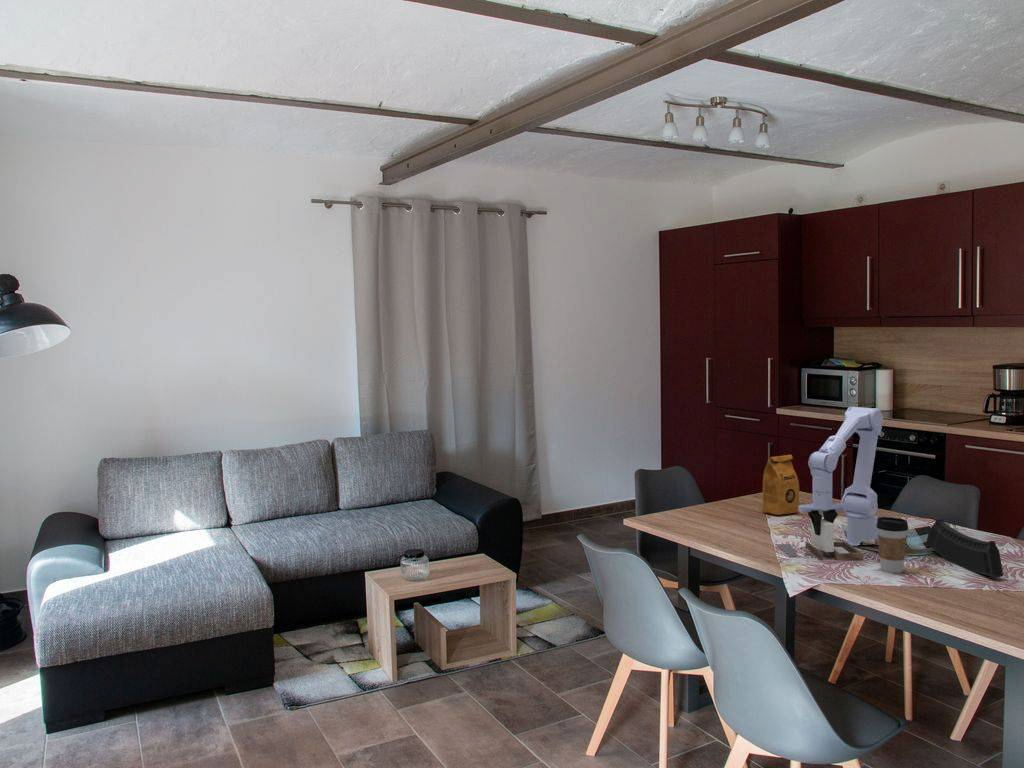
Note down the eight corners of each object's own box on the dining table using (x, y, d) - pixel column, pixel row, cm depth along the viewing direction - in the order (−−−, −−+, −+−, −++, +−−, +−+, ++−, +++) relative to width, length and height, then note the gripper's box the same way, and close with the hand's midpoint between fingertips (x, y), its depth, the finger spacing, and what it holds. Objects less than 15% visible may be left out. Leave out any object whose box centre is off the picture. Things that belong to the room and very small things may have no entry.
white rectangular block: (818, 543, 259) (818, 516, 258) (833, 551, 249) (833, 524, 248) (811, 543, 259) (811, 517, 258) (826, 552, 249) (826, 524, 248)
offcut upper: (841, 550, 258) (841, 546, 258) (849, 556, 251) (849, 553, 251) (831, 550, 258) (831, 546, 258) (839, 556, 251) (839, 553, 251)
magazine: (1010, 551, 222) (945, 497, 250) (999, 551, 222) (934, 498, 249) (996, 604, 228) (934, 546, 256) (985, 604, 228) (924, 546, 256)
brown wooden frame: (845, 547, 261) (845, 541, 261) (863, 560, 247) (863, 553, 247) (804, 548, 261) (804, 542, 261) (820, 560, 247) (820, 554, 247)
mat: (797, 544, 265) (797, 543, 265) (812, 557, 251) (812, 556, 251) (775, 545, 265) (775, 544, 265) (789, 557, 251) (789, 556, 251)
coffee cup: (871, 565, 241) (871, 515, 240) (900, 565, 241) (900, 515, 240) (883, 574, 233) (883, 522, 232) (913, 574, 232) (913, 522, 231)
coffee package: (803, 514, 307) (803, 455, 305) (777, 517, 302) (777, 458, 300) (785, 508, 316) (785, 452, 314) (759, 512, 311) (759, 455, 309)
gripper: (838, 487, 257) (838, 529, 258) (794, 489, 256) (794, 532, 257) (849, 491, 250) (849, 535, 251) (804, 494, 249) (804, 538, 250)
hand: (822, 534), depth 254 cm, fingers closed on white rectangular block, 2 cm apart
